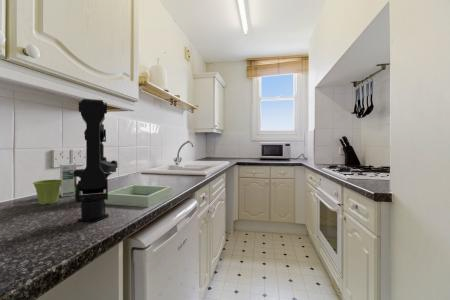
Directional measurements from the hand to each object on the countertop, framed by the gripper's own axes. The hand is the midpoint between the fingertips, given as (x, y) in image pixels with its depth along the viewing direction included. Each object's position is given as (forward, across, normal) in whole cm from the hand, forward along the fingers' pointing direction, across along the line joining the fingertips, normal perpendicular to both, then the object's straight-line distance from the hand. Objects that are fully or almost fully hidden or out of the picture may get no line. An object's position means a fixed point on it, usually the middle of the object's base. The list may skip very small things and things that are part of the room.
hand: (96, 190), depth 101 cm
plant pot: (+3, -12, +12) cm, 17 cm away
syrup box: (+3, +1, +16) cm, 16 cm away
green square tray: (+3, +2, -20) cm, 20 cm away
